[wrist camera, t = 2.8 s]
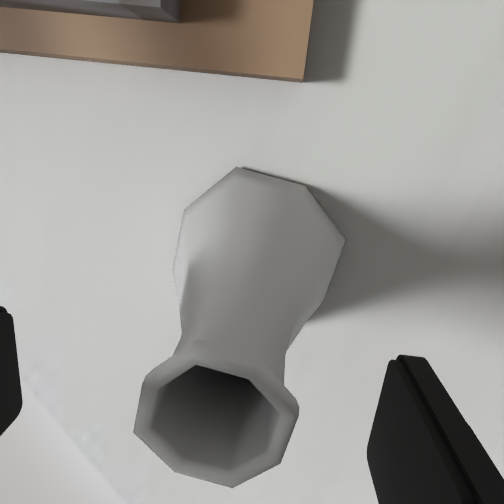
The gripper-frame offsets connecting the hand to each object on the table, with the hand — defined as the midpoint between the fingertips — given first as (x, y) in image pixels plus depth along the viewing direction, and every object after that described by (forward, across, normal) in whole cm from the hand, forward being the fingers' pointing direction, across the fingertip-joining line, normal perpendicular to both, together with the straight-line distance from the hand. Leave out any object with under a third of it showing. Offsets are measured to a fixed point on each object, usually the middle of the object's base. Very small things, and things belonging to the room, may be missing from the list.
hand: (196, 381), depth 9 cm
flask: (+8, -1, -1) cm, 8 cm away
